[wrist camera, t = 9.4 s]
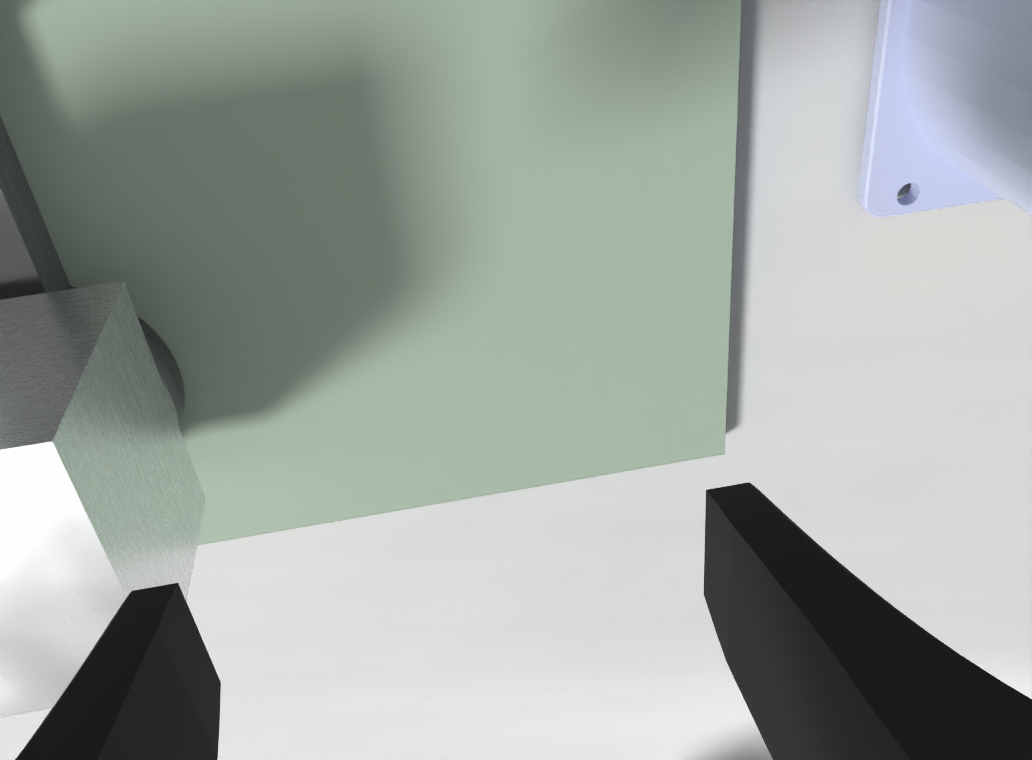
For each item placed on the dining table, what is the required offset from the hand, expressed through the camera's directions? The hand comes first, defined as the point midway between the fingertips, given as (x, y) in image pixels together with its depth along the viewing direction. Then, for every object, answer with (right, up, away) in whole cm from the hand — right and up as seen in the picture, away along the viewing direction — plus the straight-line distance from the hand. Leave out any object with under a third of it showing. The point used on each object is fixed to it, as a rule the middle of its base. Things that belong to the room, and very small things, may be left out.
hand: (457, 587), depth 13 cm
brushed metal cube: (-9, +2, +6) cm, 11 cm away
